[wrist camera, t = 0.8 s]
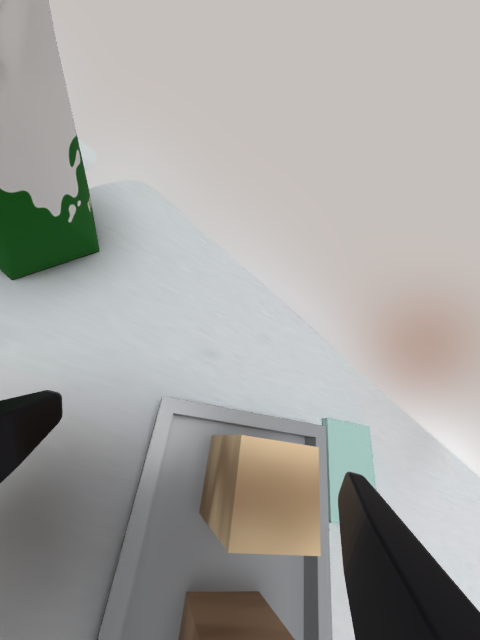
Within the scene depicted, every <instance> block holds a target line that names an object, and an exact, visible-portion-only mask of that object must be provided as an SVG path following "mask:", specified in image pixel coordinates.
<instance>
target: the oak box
mask: <svg viewBox="0 0 480 640" xmlns="http://www.w3.org/2000/svg"><path fill="white" fill-rule="evenodd" d="M199 514H200V515H201V516H202V518H203V519H204V520H205V522H206V523H207V525H208V526H209V527H210V529H211V530H212V531H213V533H214V534H215V535H216V537H217V538H218V540H219V541H220V542H221V544H222V545H223V546H224V548H225V549H226V551H227V552H228V553H243V554H271V555H299V556H321V546H320V493H319V447H314V446H308V445H302V444H296V443H289V442H283V441H277V440H271V439H264V438H258V437H252V436H246V435H212V437H211V443H210V449H209V455H208V461H207V467H206V474H205V480H204V486H203V492H202V498H201V504H200V510H199Z"/></svg>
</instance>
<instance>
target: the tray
mask: <svg viewBox="0 0 480 640" xmlns="http://www.w3.org/2000/svg"><path fill="white" fill-rule="evenodd" d="M212 435H246V436H252V437H258V438H264V439H271V440H277V441H283V442H289V443H296V444H302V445H308V446H314V447H319V493H320V546H321V556H299V555H271V554H243V553H228V552H227V551H226V549H225V548H224V546H223V545H222V544H221V542H220V541H219V540H218V538H217V537H216V535H215V534H214V533H213V531H212V530H211V529H210V527H209V526H208V525H207V523H206V522H205V520H204V519H203V518H202V516H201V515H200V514H199V510H200V504H201V498H202V492H203V486H204V480H205V474H206V467H207V461H208V455H209V449H210V443H211V437H212ZM230 591H259V592H260V593H261V595H262V596H263V597H264V599H265V600H266V602H267V603H268V604H269V606H270V607H271V608H272V610H273V611H274V612H275V614H276V615H277V616H278V618H279V619H280V620H281V622H282V623H283V624H284V626H285V627H286V628H287V630H288V631H289V632H290V634H291V635H292V636H293V638H294V639H295V640H332V613H331V582H330V550H329V518H328V487H327V455H326V426H321V425H316V424H310V423H305V422H299V421H294V420H289V419H283V418H278V417H273V416H267V415H262V414H256V413H251V412H246V411H240V410H235V409H229V408H224V407H219V406H213V405H208V404H202V403H197V402H192V401H186V400H181V399H176V398H170V397H165V396H163V397H162V399H161V402H160V406H159V410H158V413H157V417H156V421H155V425H154V428H153V432H152V436H151V440H150V443H149V447H148V451H147V455H146V458H145V462H144V466H143V470H142V473H141V477H140V481H139V485H138V488H137V492H136V496H135V500H134V503H133V507H132V511H131V515H130V518H129V522H128V526H127V530H126V533H125V537H124V541H123V545H122V548H121V552H120V556H119V560H118V563H117V567H116V571H115V575H114V578H113V582H112V586H111V590H110V593H109V597H108V601H107V605H106V608H105V612H104V616H103V620H102V623H101V627H100V631H99V635H98V638H97V640H178V639H179V632H180V626H181V620H182V614H183V608H184V602H185V596H186V592H230Z"/></svg>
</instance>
